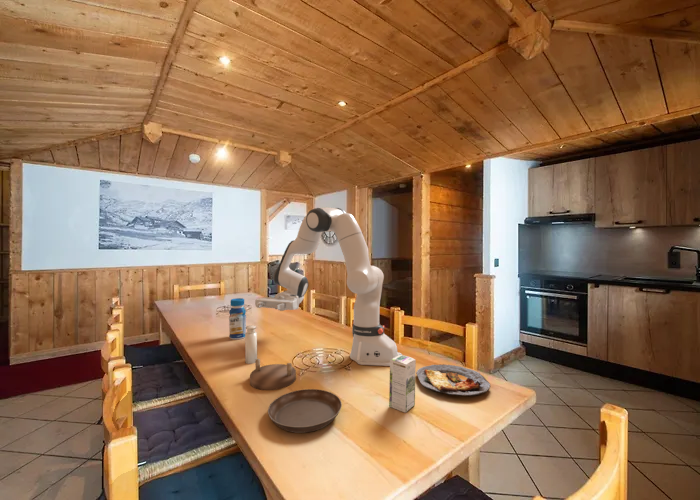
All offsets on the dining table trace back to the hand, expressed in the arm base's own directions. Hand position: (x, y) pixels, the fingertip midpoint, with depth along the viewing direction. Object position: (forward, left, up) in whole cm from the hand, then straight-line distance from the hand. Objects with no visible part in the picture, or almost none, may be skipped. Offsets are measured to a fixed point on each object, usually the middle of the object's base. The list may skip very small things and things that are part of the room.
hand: (267, 306), depth 141 cm
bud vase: (0, +12, -20) cm, 24 cm away
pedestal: (-18, +24, -20) cm, 36 cm away
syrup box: (-65, +28, -21) cm, 74 cm away
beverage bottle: (+27, -14, -21) cm, 37 cm away
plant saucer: (-40, +42, -21) cm, 61 cm away
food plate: (-79, +7, -21) cm, 82 cm away
